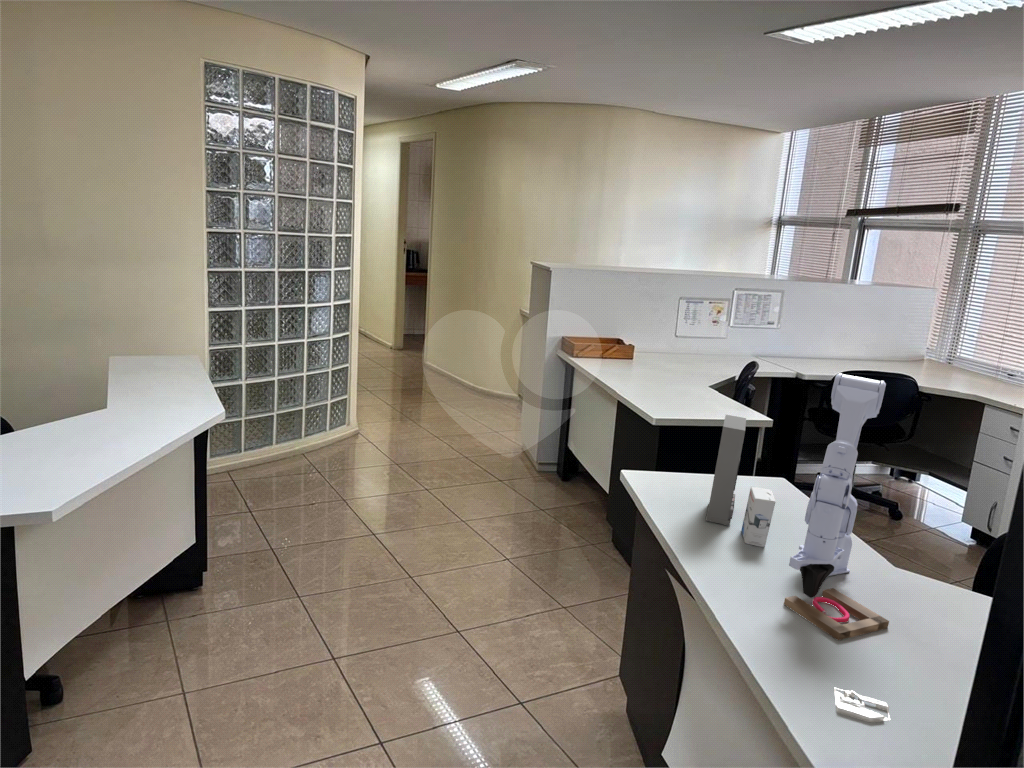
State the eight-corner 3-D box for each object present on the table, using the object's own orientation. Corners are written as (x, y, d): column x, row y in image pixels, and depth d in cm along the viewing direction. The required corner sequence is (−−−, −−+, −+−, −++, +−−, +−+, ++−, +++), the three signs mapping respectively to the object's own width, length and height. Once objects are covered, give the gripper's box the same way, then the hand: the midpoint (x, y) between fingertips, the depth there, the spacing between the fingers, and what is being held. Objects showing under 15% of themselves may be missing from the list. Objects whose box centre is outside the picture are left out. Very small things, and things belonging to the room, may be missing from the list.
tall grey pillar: (730, 527, 180) (748, 431, 174) (705, 521, 182) (722, 426, 176) (732, 508, 193) (749, 418, 187) (709, 503, 195) (725, 414, 189)
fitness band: (805, 601, 147) (807, 594, 147) (833, 603, 147) (834, 596, 147) (825, 623, 139) (827, 616, 139) (854, 625, 140) (856, 618, 139)
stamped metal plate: (835, 715, 112) (837, 707, 112) (833, 690, 118) (835, 682, 118) (891, 732, 109) (893, 723, 109) (886, 706, 116) (888, 698, 115)
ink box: (741, 529, 179) (749, 485, 176) (762, 533, 178) (771, 489, 175) (744, 544, 171) (753, 497, 168) (766, 548, 170) (776, 501, 167)
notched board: (831, 594, 150) (833, 588, 150) (887, 628, 139) (889, 621, 139) (783, 604, 144) (785, 597, 143) (838, 640, 133) (840, 633, 132)
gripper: (828, 520, 151) (815, 579, 154) (782, 529, 143) (769, 591, 146) (858, 534, 145) (844, 596, 148) (812, 544, 137) (798, 609, 140)
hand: (809, 594), depth 147 cm, fingers closed
